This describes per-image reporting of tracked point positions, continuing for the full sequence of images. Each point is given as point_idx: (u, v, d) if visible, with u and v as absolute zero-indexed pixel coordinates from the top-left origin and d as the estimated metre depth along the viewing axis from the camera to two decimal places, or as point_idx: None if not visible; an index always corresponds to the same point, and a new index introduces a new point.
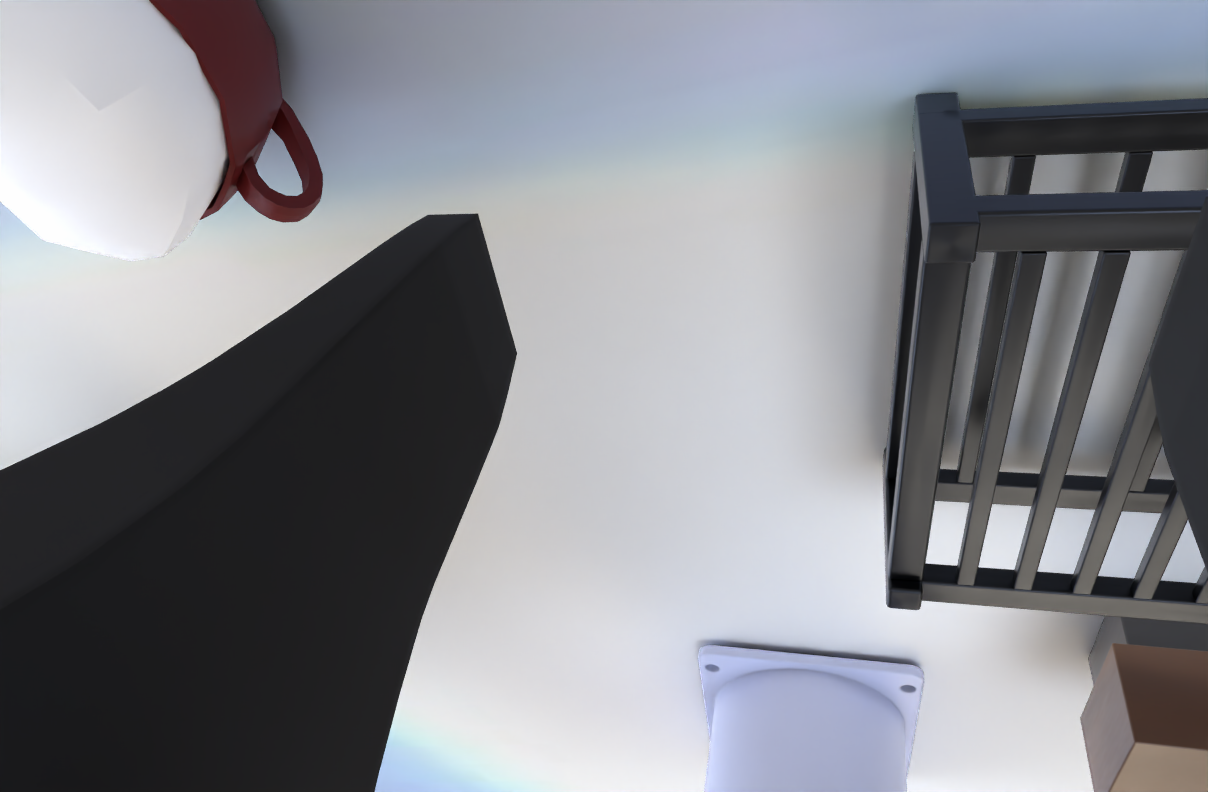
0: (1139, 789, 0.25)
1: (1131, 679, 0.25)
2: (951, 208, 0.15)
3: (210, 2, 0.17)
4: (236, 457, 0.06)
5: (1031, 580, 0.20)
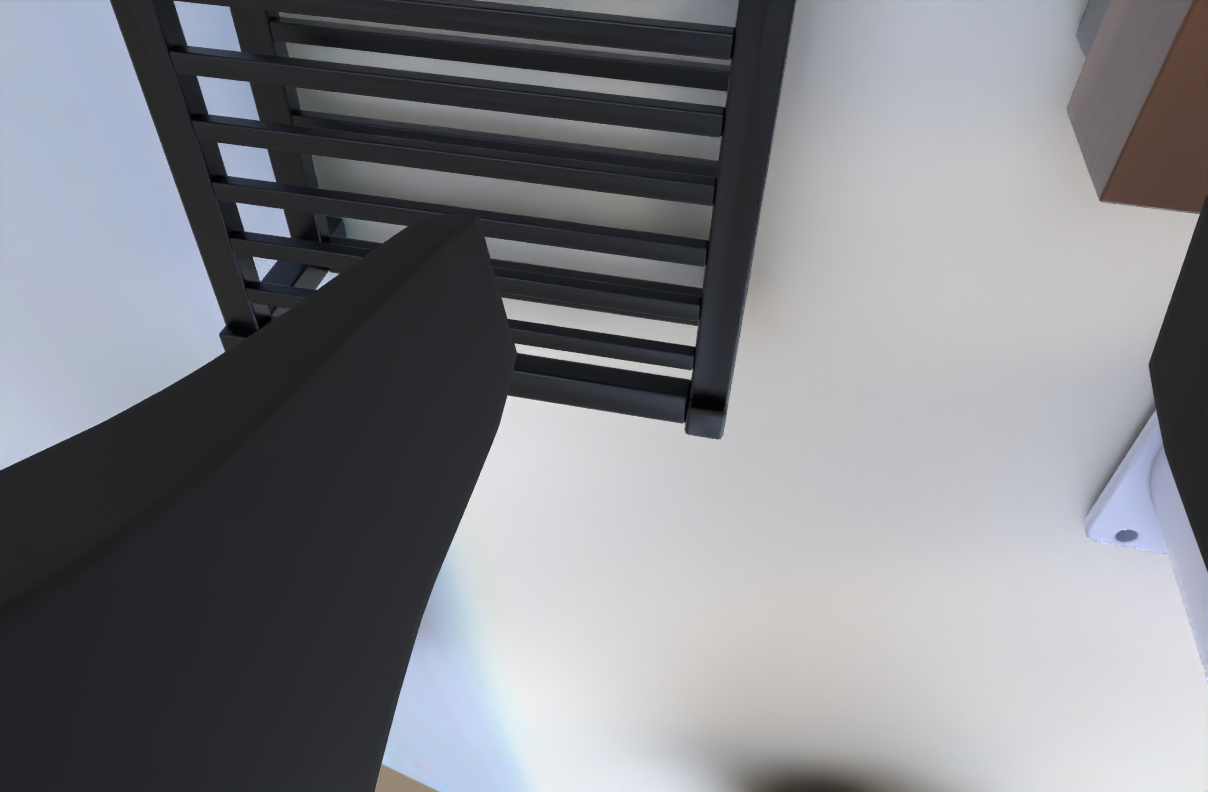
0: None
1: (1083, 126, 0.14)
2: None
3: None
4: (236, 457, 0.06)
5: (679, 305, 0.16)
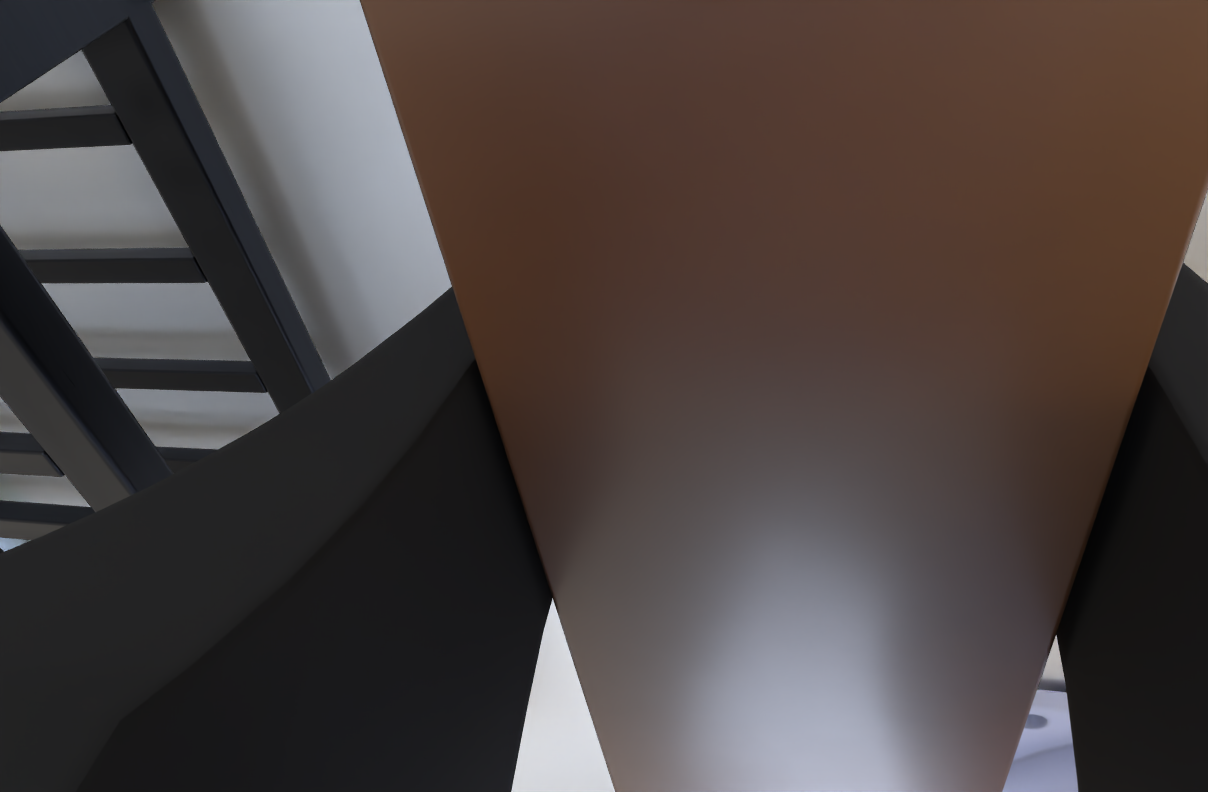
0: None
1: None
2: None
3: None
4: (408, 467, 0.06)
5: None
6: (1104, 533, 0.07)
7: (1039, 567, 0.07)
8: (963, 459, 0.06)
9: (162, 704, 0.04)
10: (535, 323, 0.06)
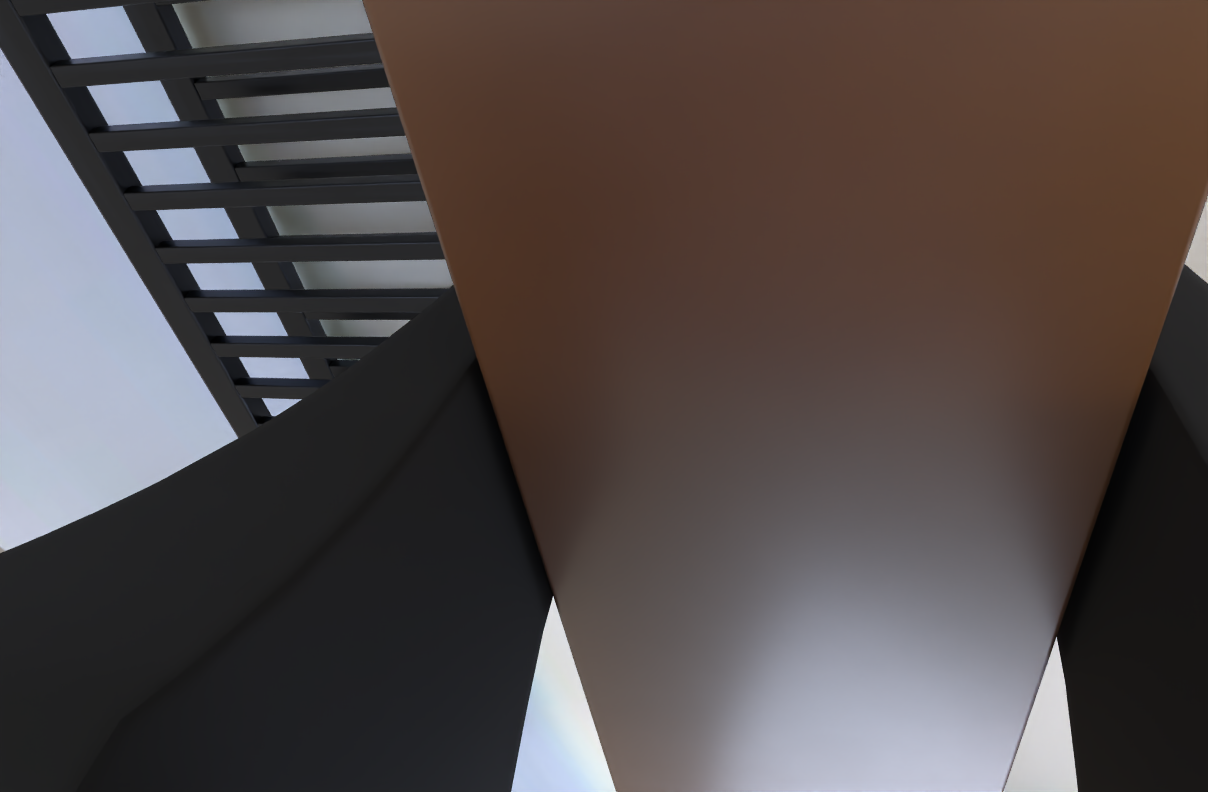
0: None
1: None
2: None
3: None
4: (408, 465, 0.06)
5: None
6: (1104, 533, 0.07)
7: (1042, 564, 0.07)
8: (966, 456, 0.06)
9: (161, 704, 0.04)
10: (536, 319, 0.06)
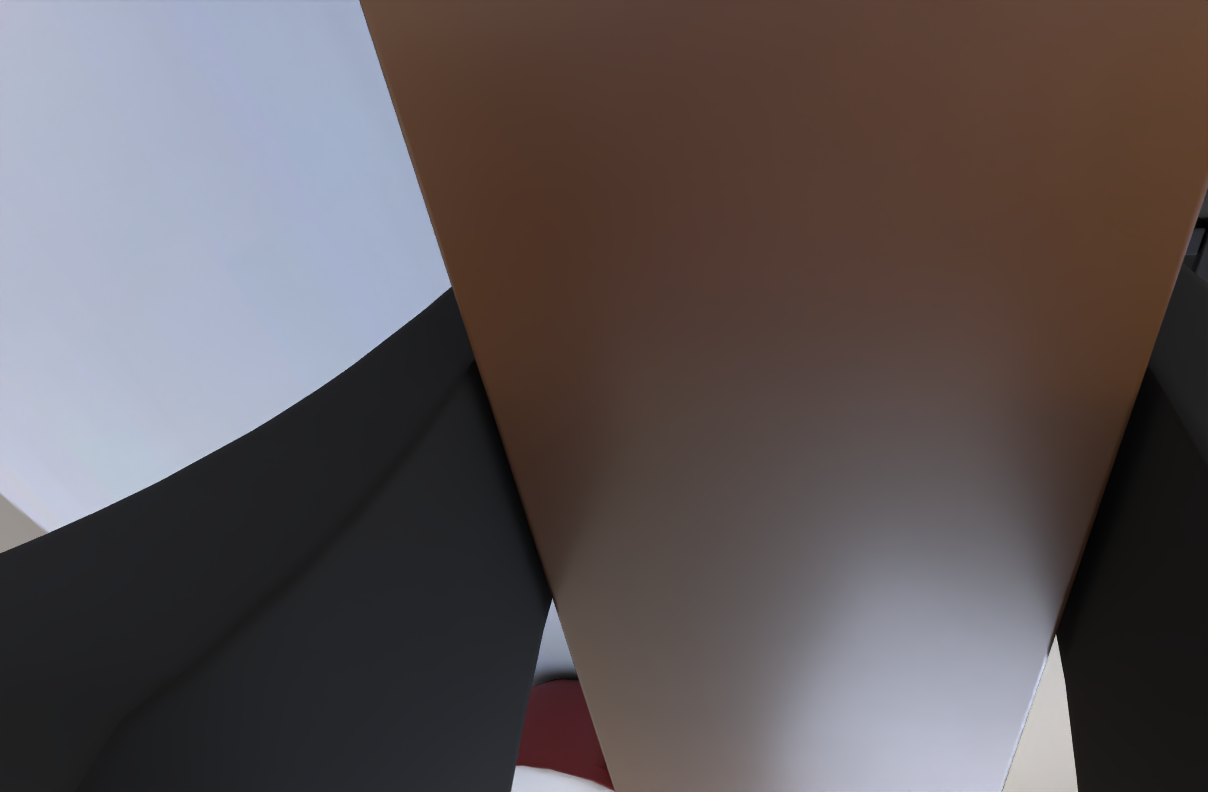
0: None
1: None
2: None
3: None
4: (408, 465, 0.06)
5: None
6: (1104, 533, 0.07)
7: (1040, 563, 0.07)
8: (964, 455, 0.06)
9: (161, 704, 0.04)
10: (533, 318, 0.06)
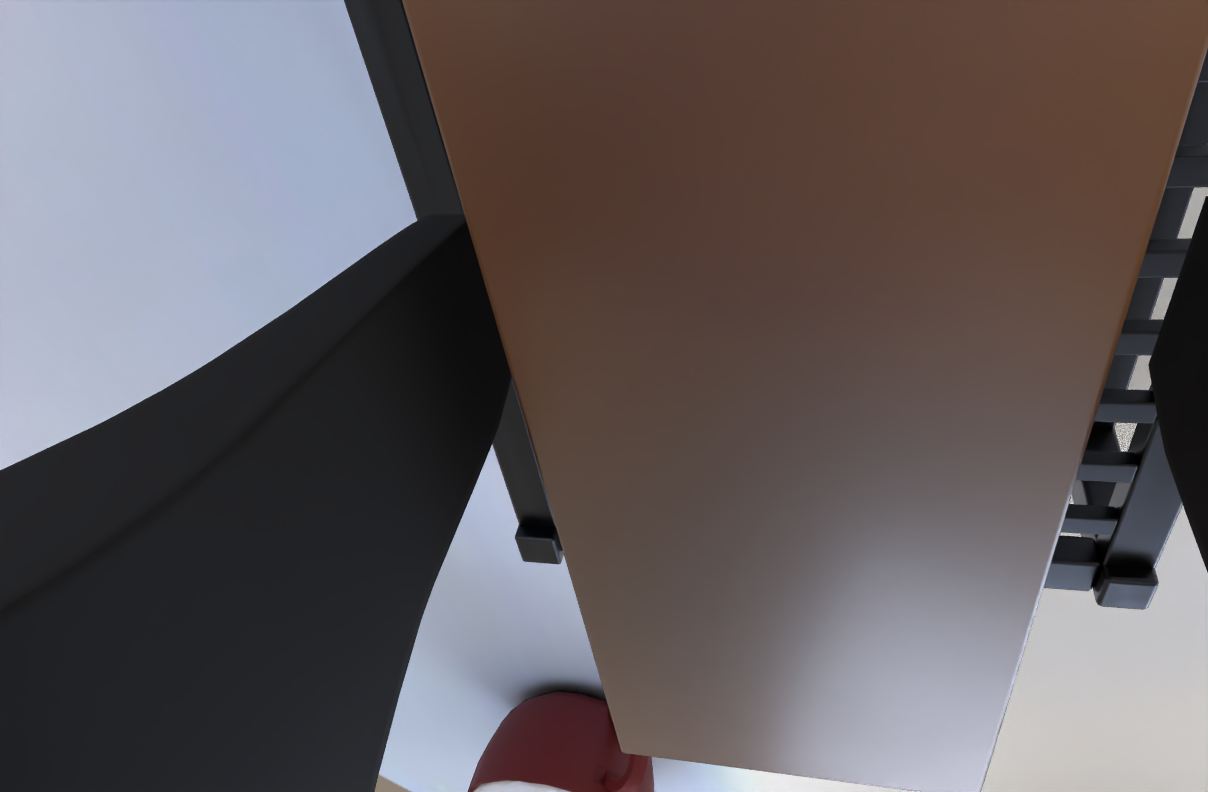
0: (824, 755, 0.11)
1: None
2: None
3: (513, 745, 0.29)
4: (236, 457, 0.06)
5: (1108, 467, 0.13)
6: None
7: (1029, 511, 0.07)
8: (956, 404, 0.07)
9: None
10: (550, 273, 0.06)
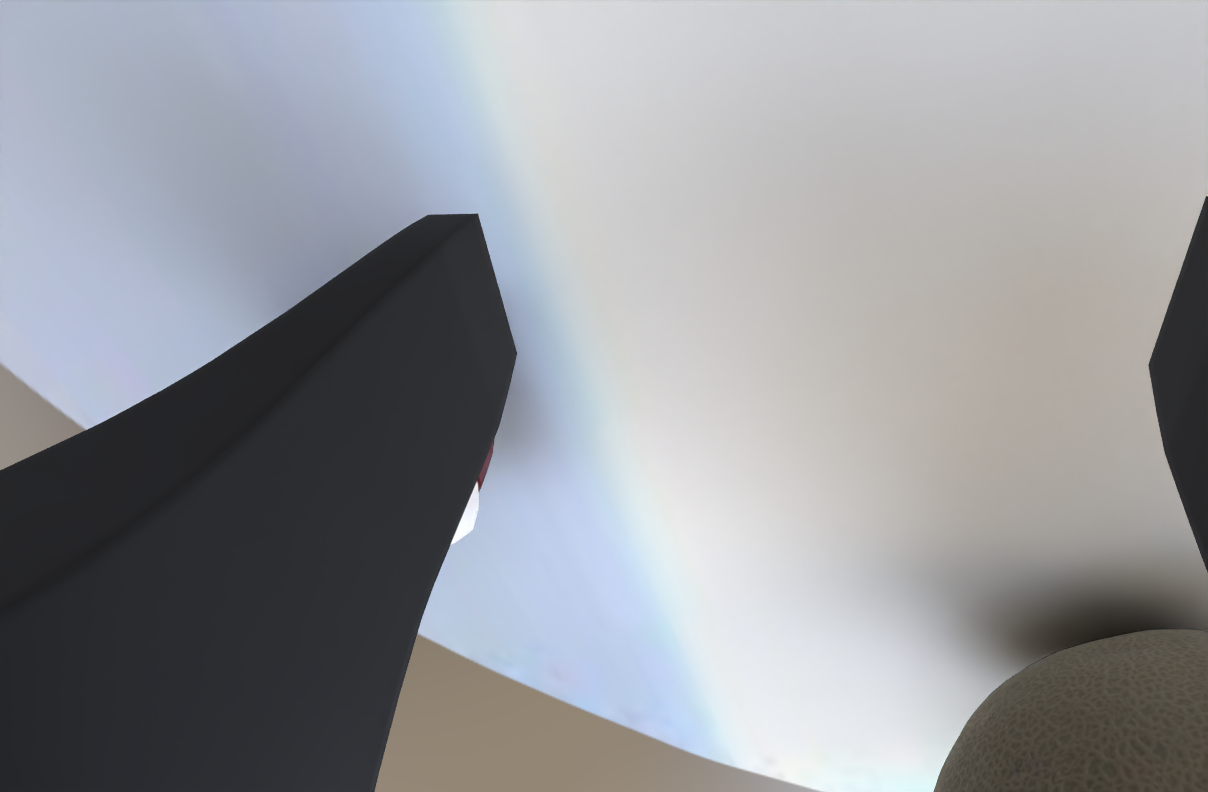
0: None
1: None
2: None
3: None
4: (236, 456, 0.06)
5: None
6: None
7: None
8: None
9: None
10: None
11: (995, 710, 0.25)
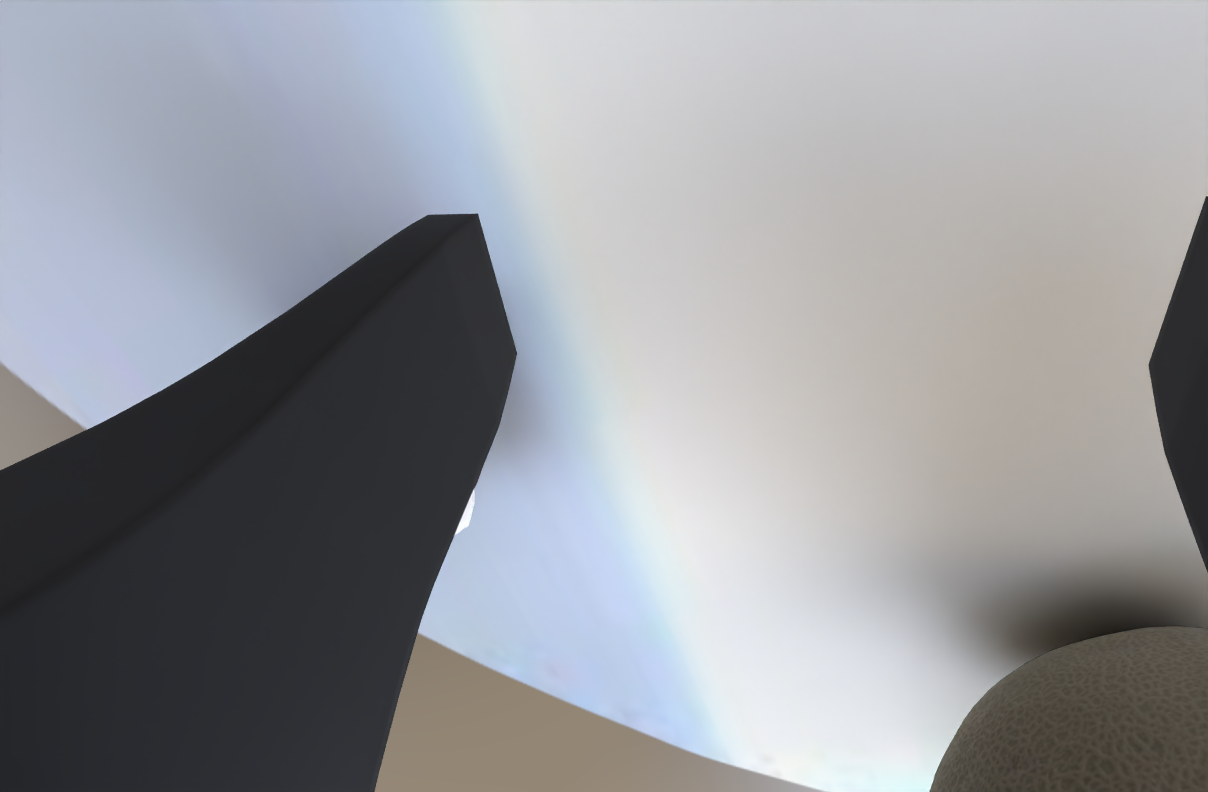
0: None
1: None
2: None
3: None
4: (235, 456, 0.06)
5: None
6: None
7: None
8: None
9: None
10: None
11: (992, 707, 0.25)
